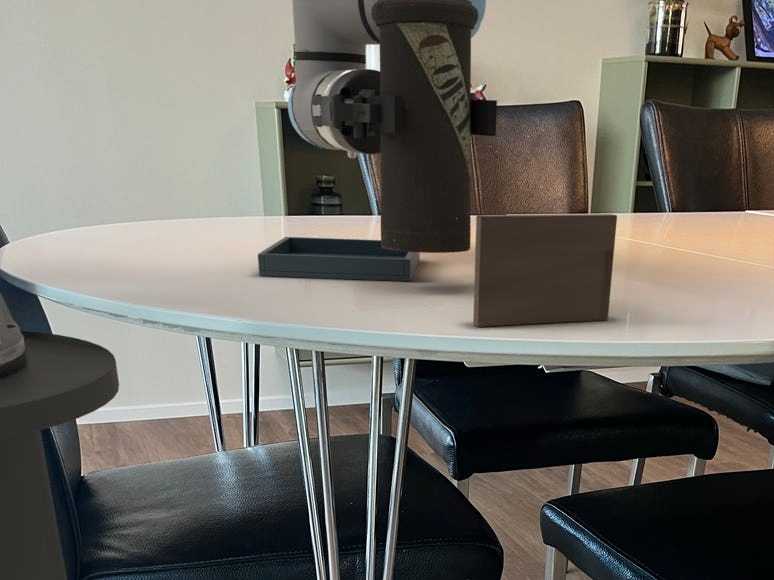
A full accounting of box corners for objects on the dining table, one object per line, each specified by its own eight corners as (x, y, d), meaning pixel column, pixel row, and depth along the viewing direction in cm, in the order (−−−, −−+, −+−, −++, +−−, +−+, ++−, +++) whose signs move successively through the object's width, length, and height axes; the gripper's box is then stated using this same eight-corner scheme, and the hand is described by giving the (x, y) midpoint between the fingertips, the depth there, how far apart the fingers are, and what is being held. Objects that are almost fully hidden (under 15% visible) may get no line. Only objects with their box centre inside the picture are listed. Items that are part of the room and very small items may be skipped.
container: (442, 256, 86) (444, -17, 78) (358, 249, 90) (350, -11, 81) (490, 250, 93) (497, -2, 84) (410, 243, 97) (408, 2, 88)
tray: (259, 275, 96) (257, 254, 96) (286, 256, 109) (285, 236, 108) (410, 281, 97) (410, 259, 96) (419, 260, 110) (419, 241, 109)
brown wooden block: (608, 320, 82) (617, 215, 78) (478, 327, 77) (481, 216, 74) (526, 290, 94) (530, 198, 90) (409, 295, 89) (409, 198, 86)
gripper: (452, 155, 107) (552, 167, 89) (262, 151, 99) (329, 164, 81) (453, 75, 103) (558, 71, 85) (256, 64, 95) (325, 57, 77)
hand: (446, 116), depth 83 cm, fingers closed on container, 8 cm apart
